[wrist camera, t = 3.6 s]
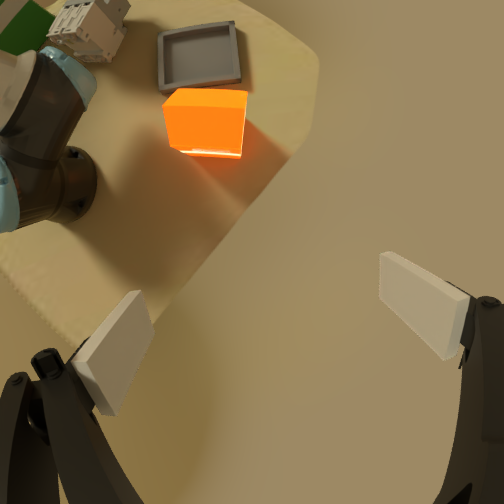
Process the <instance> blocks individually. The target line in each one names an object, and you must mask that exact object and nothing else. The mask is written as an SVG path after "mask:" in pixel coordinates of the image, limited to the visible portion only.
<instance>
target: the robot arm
mask: <svg viewBox="0 0 504 504" xmlns="http://www.w3.org/2000/svg"><path fill="white" fill-rule="evenodd" d="M96 88H97V82H96V79H95V77H94V76H93V75H92V74H91V73H90V72H89V71H88V70H87V69H86V68H85V67H84V66H83V65H81V64H80V63H79V62H78V61H76V60H75V59H73V58H72V57H70V56H67V54H65V53H64V52H62V51H61V50H59V49H57V48H54V47H51V46H46V47H45V48H44V49H42V50H41V51H40V53H38V52H36V51H34V50H29V51H27V52H25V53H23V54H21V55H19V56H15V55H12V54H10V53H7V52H5V51H2V50H0V233H4V232H12V231H14V230H16V229H19V228H22V227H25V226H28V225H31V224H34V223H37V222H40V221H43V220H49V221H52V222H56V223H68V222H71V221H75V220H77V219H79V218H80V217H82V216H83V215H84V214H85V213H86V212H87V211H88V209H89V208H90V206H91V204H92V202H93V200H94V197H95V193H96V187H97V175H96V170H95V166H94V164H93V161H92V159H91V158H90V156H89V155H88V154H87V153H86V152H85V151H84V150H82V149H80V148H78V147H73V146H66V145H67V143H68V141H69V139H70V137H71V135H72V133H73V131H74V129H75V127H76V125H77V123H78V121H79V120H80V118H81V116H82V114H83V112H85V111H86V110H87V107H88V104H89V102H90V100H91V98H92V97H93V95H94V93H95V91H96ZM379 285H380V286H379V299H381V300H382V301H383V302H384V303H385V304H386V305H387V306H388V307H389V308H390V309H391V310H392V311H393V312H395V313H396V314H397V315H398V316H399V317H400V318H401V319H402V320H403V321H404V322H405V323H406V324H407V325H408V326H409V327H410V328H411V329H412V330H413V331H414V332H416V334H418V336H419V337H420V338H422V339H423V341H424V342H425V343H427V345H428V346H429V347H431V349H432V350H433V351H435V353H436V354H437V355H438V356H439V357H440V358H441V359H442V360H443V361H445V360H447V359H449V358H452V357H454V356H455V355H457V352H458V348H459V344H460V343H461V344H462V345H463V346H464V347H465V349H464V352H463V355H462V359H461V362H460V366H459V368H458V369H461V366H462V383H461V395H460V405H459V412H458V420H457V426H456V432H455V438H454V443H453V447H452V452H451V457H450V461H449V465H448V468H447V472H446V476H445V479H444V483H443V486H442V488H441V491H440V493H439V495H438V496H437V498H436V499H435V501H434V503H433V504H504V304H501V302H500V301H499V300H498V299H496V298H494V297H489V296H482V297H479V298H478V299H476V298H474V297H473V296H471V295H470V294H468V293H466V292H465V291H463V290H461V289H460V288H458V287H455V286H454V285H453V284H451V283H450V282H448V281H444V280H442V279H440V278H439V277H437V276H435V275H433V274H432V273H430V272H428V271H426V270H425V269H423V268H421V267H419V266H417V265H416V264H414V263H412V262H410V261H408V260H407V259H405V258H403V257H401V256H399V255H398V254H396V253H394V252H392V251H389V252H383V253H380V282H379ZM154 335H155V332H154V329H153V326H152V323H151V320H150V317H149V313H148V310H147V307H146V304H145V300H144V297H143V294H142V290H136V291H129V292H128V293H127V294H126V296H125V297H124V298H123V299H122V300H121V301H120V302H119V304H118V305H117V306H116V307H115V308H114V309H113V310H112V312H111V313H110V314H109V315H108V316H107V317H106V319H105V320H104V321H103V322H102V323H101V325H100V326H99V327H98V328H97V329H96V331H95V332H94V333H93V334H92V335H91V336H90V337H88V338H87V339H86V340H84V341H83V343H82V344H81V345H80V346H79V347H80V348H78V349H77V350H76V351H75V353H74V354H73V355H72V356H71V357H70V359H69V360H68V361H67V363H66V364H64V363H63V361H62V359H61V357H60V355H59V353H58V351H57V350H56V349H54V348H48V349H44V350H42V351H40V352H38V353H37V354H36V355H34V357H33V358H32V359H31V364H32V366H33V368H34V370H35V371H36V373H37V375H38V377H39V378H40V380H39V381H31V379H30V378H29V376H28V374H27V373H26V372H18V373H15V374H14V375H11V377H10V378H9V379H8V380H7V382H6V384H5V386H4V389H3V392H2V395H1V398H0V504H60V497H59V485H58V474H59V477H60V480H61V483H62V486H63V489H64V492H65V495H66V497H67V500H68V503H69V504H144V503H143V501H142V500H141V499H140V497H139V495H138V494H137V493H136V491H135V489H134V488H133V487H132V485H131V483H130V481H129V480H128V478H127V477H126V475H125V473H124V472H123V470H122V468H121V466H120V465H119V463H118V461H117V459H116V458H115V456H114V454H113V452H112V450H111V448H110V446H109V444H108V442H107V440H106V438H105V436H104V434H103V432H102V430H101V428H100V426H99V423H98V421H97V419H96V417H95V415H94V414H93V412H92V410H93V408H94V406H95V405H96V407H97V408H98V410H99V412H100V413H101V414H102V415H108V416H109V415H110V416H117V415H118V413H119V410H120V408H121V406H122V403H123V401H124V399H125V397H126V394H127V392H128V390H129V387H130V385H131V383H132V381H133V379H134V377H135V374H136V372H137V370H138V368H139V366H140V364H141V362H142V359H143V357H144V355H145V353H146V351H147V349H148V347H149V345H150V343H151V341H152V338H153V337H154ZM28 420H29V421H28ZM29 422H30V423H31V424H29Z"/></svg>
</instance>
